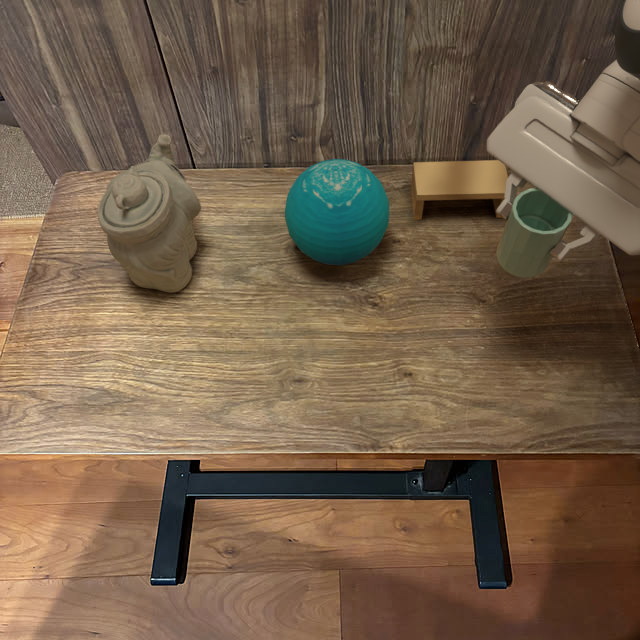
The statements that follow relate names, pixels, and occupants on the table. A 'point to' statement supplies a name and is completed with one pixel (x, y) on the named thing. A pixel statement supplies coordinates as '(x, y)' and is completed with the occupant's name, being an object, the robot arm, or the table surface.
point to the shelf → (457, 182)
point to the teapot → (152, 221)
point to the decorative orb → (337, 212)
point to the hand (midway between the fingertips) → (528, 236)
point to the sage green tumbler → (531, 233)
